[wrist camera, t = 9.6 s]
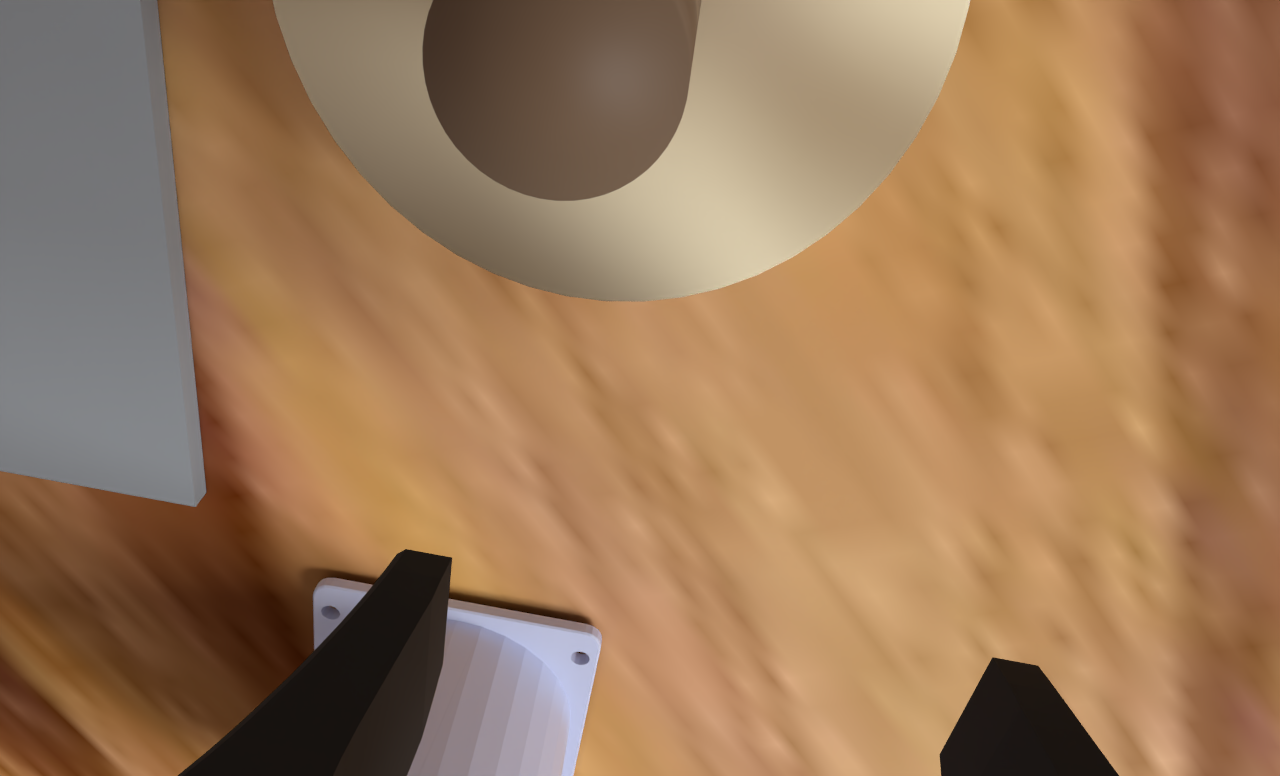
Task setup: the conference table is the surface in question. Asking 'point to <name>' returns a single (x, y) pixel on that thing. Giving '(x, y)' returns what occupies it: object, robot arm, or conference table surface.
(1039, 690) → the robot arm
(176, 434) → the mat
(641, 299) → the lid
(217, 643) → the conference table surface
